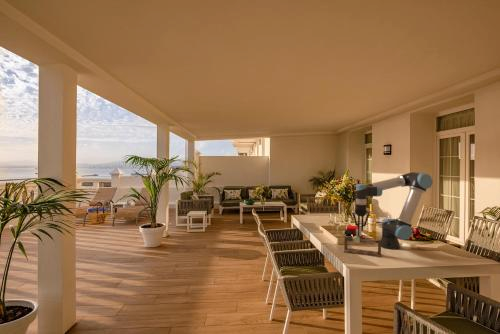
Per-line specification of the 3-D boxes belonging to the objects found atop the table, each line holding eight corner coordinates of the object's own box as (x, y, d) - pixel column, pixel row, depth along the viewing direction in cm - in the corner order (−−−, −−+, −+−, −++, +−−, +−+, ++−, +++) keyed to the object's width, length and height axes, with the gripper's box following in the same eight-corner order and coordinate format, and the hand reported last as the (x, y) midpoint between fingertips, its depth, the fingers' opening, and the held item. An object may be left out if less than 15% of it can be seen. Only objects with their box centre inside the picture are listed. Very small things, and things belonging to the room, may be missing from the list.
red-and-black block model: (343, 230, 262) (345, 224, 285) (343, 240, 262) (345, 233, 285) (361, 232, 256) (361, 226, 279) (360, 242, 256) (361, 235, 279)
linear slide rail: (380, 253, 225) (381, 238, 225) (380, 257, 218) (381, 241, 217) (344, 249, 235) (345, 235, 235) (343, 252, 228) (344, 237, 227)
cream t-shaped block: (359, 241, 229) (360, 229, 229) (359, 243, 225) (359, 230, 224) (354, 241, 230) (354, 228, 230) (353, 242, 226) (354, 230, 226)
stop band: (354, 240, 230) (354, 236, 230) (354, 241, 227) (354, 237, 227) (352, 240, 230) (353, 236, 230) (352, 241, 227) (352, 237, 227)
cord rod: (379, 243, 223) (379, 239, 223) (379, 244, 220) (379, 240, 220) (346, 239, 232) (346, 235, 232) (345, 240, 229) (345, 236, 229)
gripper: (351, 204, 225) (351, 235, 225) (370, 205, 220) (369, 237, 220) (352, 202, 232) (351, 232, 232) (370, 204, 227) (369, 234, 227)
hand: (360, 234), depth 226 cm, fingers closed
